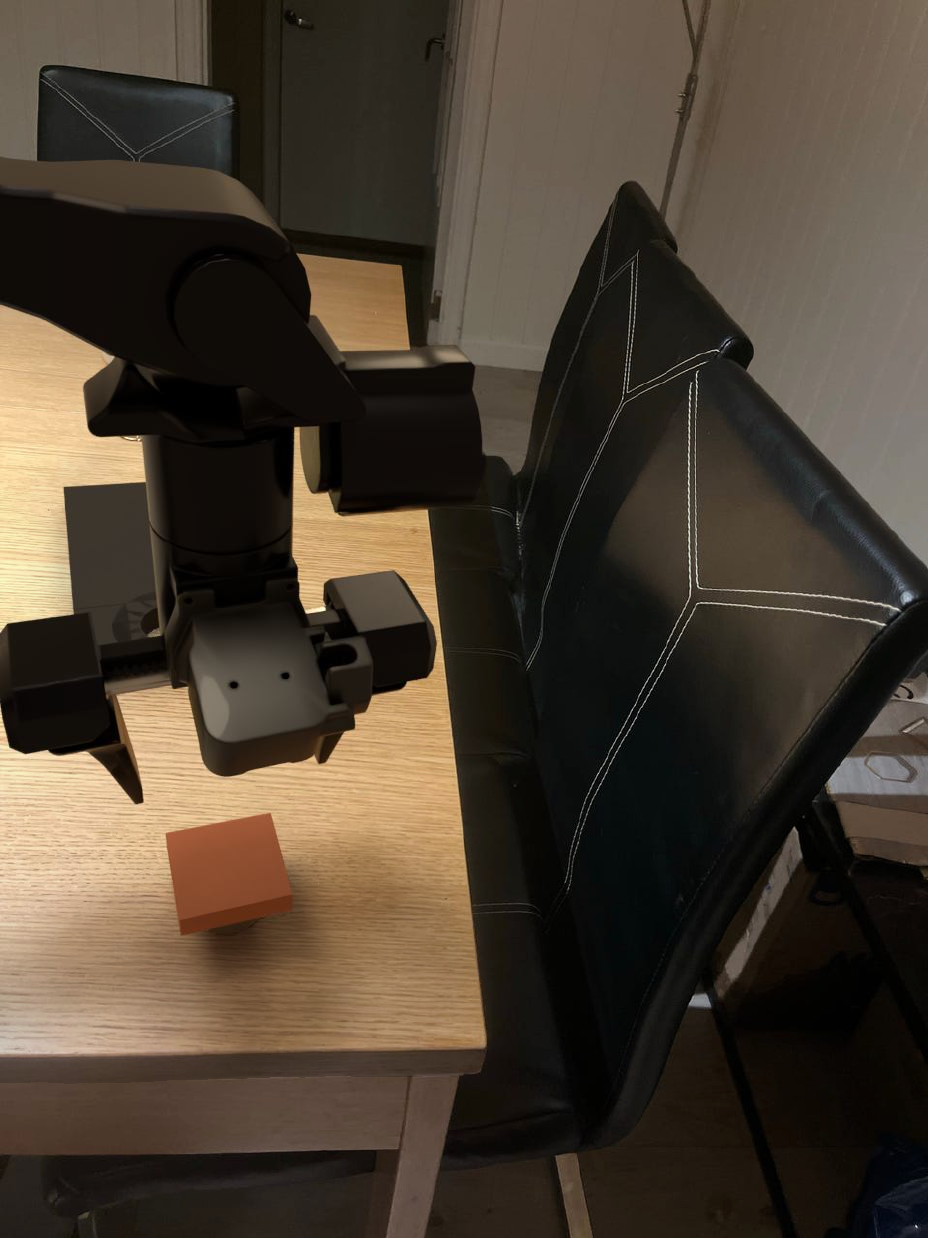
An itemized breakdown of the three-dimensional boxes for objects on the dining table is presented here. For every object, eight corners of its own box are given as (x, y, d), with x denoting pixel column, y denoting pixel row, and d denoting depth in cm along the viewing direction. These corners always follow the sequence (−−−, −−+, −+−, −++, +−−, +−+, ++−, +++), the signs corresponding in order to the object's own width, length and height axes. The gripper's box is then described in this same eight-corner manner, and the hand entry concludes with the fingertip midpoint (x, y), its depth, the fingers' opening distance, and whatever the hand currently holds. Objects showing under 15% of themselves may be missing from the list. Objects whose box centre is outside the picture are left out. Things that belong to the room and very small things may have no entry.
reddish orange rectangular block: (183, 964, 50) (179, 920, 47) (169, 876, 54) (165, 832, 52) (291, 937, 52) (293, 894, 50) (270, 855, 56) (270, 812, 54)
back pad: (276, 666, 70) (276, 646, 69) (81, 693, 65) (78, 672, 64) (220, 495, 89) (219, 477, 88) (66, 505, 84) (63, 486, 83)
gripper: (-29, 683, 28) (46, 967, 37) (509, 597, 35) (459, 853, 45) (-35, 501, 36) (29, 774, 45) (407, 462, 43) (383, 703, 52)
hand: (232, 777), depth 47 cm, fingers open, 9 cm apart
